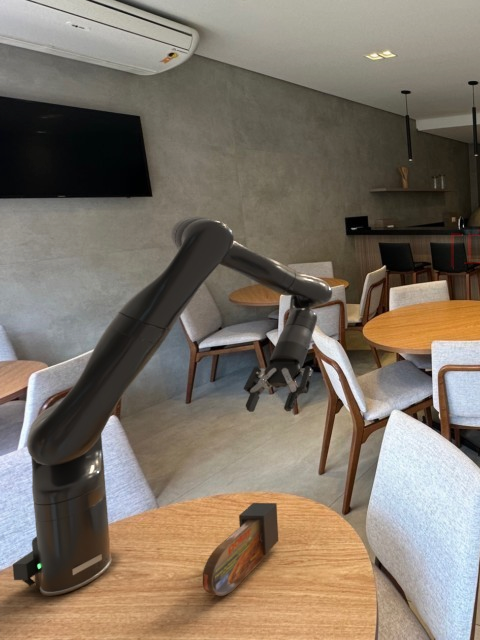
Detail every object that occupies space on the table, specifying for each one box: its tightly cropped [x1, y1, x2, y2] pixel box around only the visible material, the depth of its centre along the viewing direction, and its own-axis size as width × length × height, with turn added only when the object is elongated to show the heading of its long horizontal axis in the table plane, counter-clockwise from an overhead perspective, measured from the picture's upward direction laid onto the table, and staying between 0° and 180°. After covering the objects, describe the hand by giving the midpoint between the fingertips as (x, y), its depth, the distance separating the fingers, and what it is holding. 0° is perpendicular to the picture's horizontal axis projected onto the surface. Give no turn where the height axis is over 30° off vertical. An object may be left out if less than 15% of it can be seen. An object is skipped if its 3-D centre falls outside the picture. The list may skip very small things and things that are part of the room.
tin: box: [202, 519, 270, 597], centre depth 79 cm, size 15×3×8 cm, turn 169°
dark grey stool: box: [238, 502, 279, 555], centre depth 84 cm, size 5×4×8 cm
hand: (268, 410), depth 94 cm, fingers open, 8 cm apart
